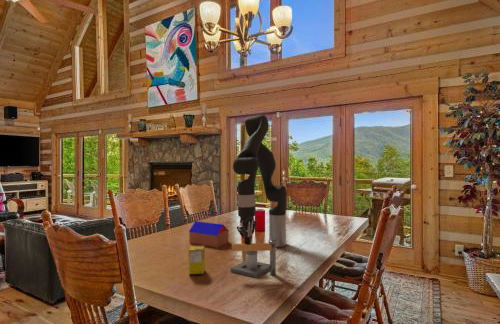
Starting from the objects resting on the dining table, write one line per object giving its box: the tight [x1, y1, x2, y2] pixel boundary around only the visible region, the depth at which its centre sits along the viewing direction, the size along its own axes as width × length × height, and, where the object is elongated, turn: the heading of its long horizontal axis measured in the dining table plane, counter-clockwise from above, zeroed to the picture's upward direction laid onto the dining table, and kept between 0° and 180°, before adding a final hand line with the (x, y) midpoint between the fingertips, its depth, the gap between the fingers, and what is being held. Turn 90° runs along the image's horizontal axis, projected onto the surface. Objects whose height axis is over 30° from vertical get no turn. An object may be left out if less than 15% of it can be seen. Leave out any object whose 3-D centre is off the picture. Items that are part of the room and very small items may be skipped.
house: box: [188, 220, 230, 248], centre depth 180 cm, size 12×20×12 cm, turn 60°
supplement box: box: [188, 245, 206, 276], centre depth 133 cm, size 6×6×11 cm
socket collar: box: [230, 260, 270, 279], centre depth 136 cm, size 13×13×2 cm
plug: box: [245, 251, 258, 270], centre depth 136 cm, size 5×5×9 cm
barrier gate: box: [231, 239, 277, 276], centre depth 130 cm, size 4×19×14 cm, turn 92°
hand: (247, 245), depth 133 cm, fingers closed
